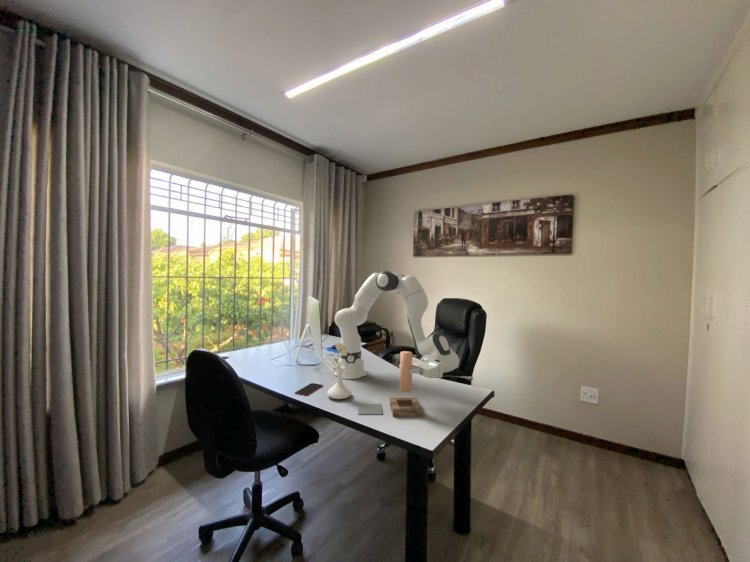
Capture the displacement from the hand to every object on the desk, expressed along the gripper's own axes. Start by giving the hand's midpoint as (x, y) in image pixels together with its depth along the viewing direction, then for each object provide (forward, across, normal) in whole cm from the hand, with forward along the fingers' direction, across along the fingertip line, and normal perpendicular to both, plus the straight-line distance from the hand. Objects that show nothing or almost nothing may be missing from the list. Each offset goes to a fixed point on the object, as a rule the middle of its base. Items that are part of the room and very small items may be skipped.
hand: (404, 369), depth 128 cm
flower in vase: (+17, -28, +18) cm, 37 cm away
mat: (+12, -8, +18) cm, 23 cm away
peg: (-1, 0, +9) cm, 9 cm away
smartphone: (+27, -42, +18) cm, 53 cm away
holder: (-1, 0, +18) cm, 18 cm away
